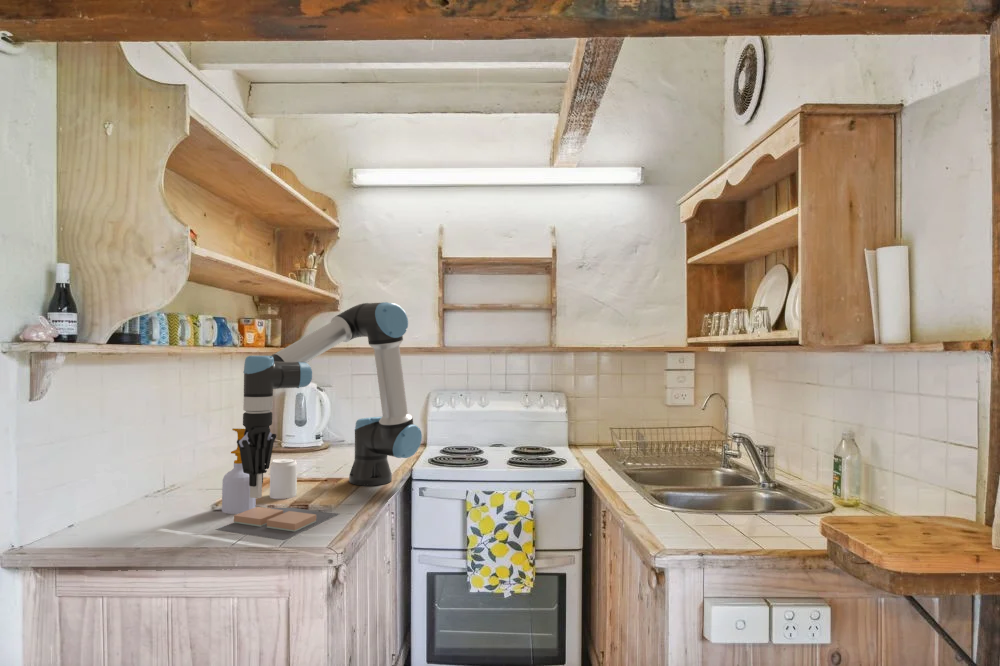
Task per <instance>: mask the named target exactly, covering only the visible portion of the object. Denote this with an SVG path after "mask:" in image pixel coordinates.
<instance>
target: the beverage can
mask: <svg viewBox="0 0 1000 666" xmlns="http://www.w3.org/2000/svg"><path fill="white" fill-rule="evenodd" d="M269 475H270V476H269V498H270V499H275V500H287V499H292V498H295V497H296V496H297V490H298V489H297V488H298V487H297V482H298V480H297V479H298V463H297V461H296V458H291V457H281V458H275V459H274V458H273V459H272V462H270V466H269ZM286 498H287V499H286Z"/></svg>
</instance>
